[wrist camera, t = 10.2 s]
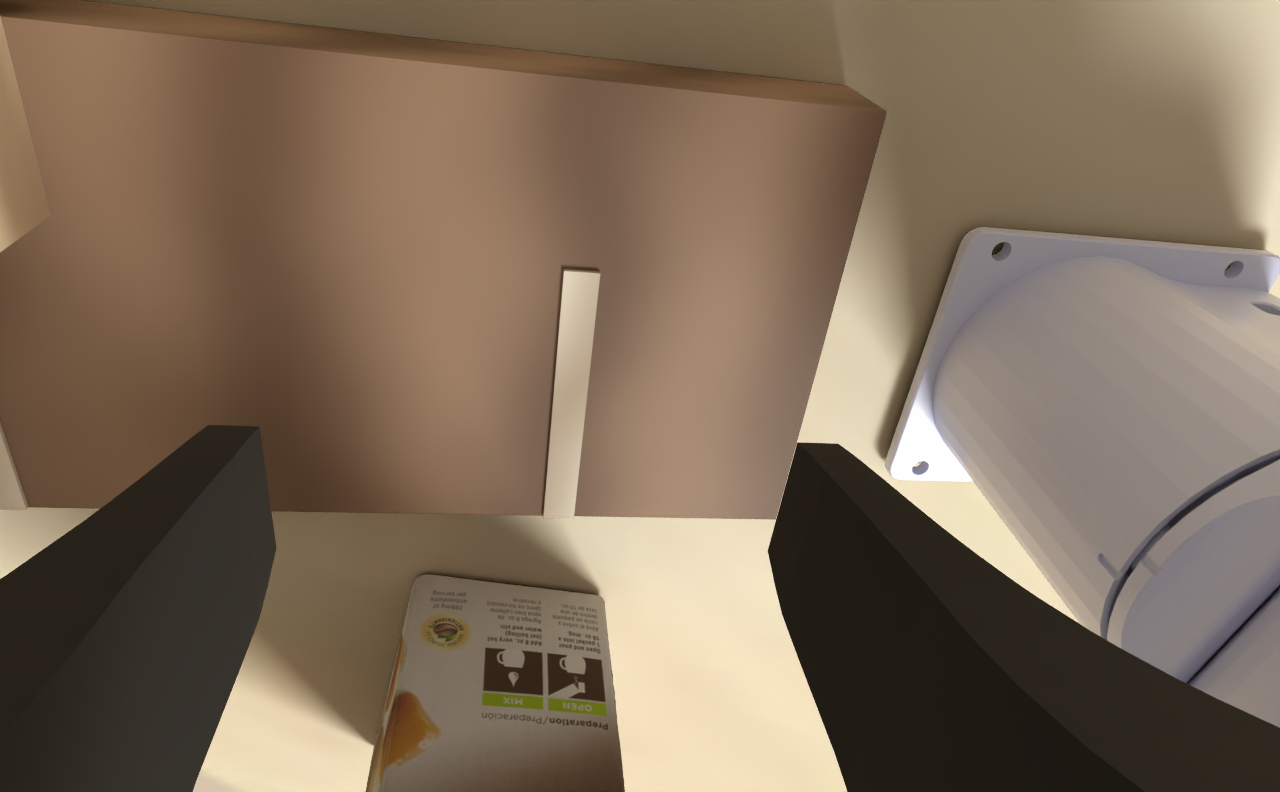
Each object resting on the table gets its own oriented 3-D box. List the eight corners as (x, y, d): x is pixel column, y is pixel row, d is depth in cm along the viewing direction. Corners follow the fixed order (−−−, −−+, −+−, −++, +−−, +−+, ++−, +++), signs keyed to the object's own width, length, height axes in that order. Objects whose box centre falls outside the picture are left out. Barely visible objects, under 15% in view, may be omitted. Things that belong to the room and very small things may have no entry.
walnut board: (846, 86, 19) (888, 112, 17) (754, 465, 25) (776, 521, 23) (-385, -52, 15) (-537, -40, 13) (-160, 439, 21) (-240, 505, 19)
